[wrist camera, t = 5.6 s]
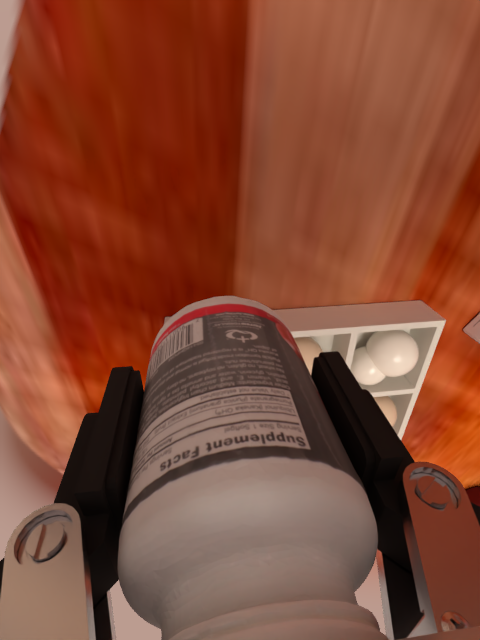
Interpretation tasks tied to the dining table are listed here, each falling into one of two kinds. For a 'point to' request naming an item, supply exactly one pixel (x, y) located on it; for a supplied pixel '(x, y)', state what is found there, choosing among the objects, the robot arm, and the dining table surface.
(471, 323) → the ink box
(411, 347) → the cream egg
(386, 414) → the brown egg
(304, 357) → the brown egg
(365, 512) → the pill bottle
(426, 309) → the grey compartment tray
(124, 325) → the dining table surface
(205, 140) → the dining table surface
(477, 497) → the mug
